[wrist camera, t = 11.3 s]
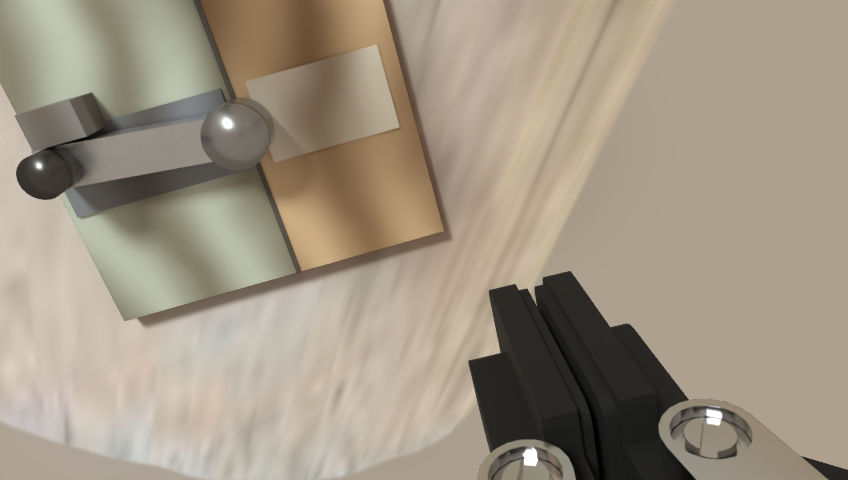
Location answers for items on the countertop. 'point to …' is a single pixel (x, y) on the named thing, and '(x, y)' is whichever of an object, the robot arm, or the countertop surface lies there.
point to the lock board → (201, 94)
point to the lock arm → (152, 149)
